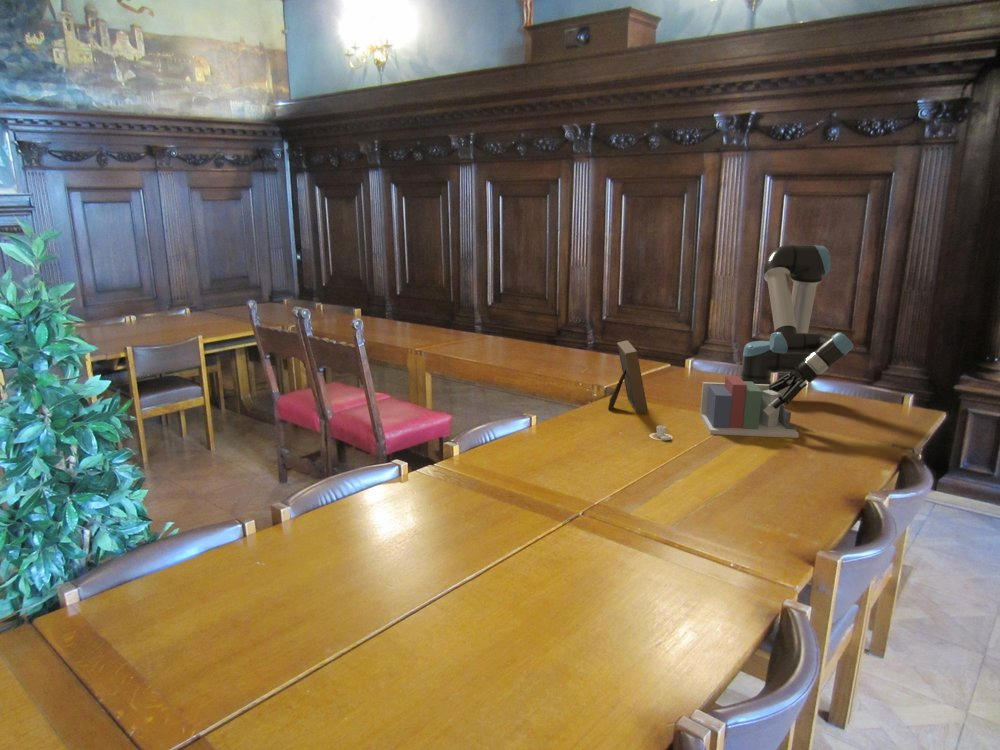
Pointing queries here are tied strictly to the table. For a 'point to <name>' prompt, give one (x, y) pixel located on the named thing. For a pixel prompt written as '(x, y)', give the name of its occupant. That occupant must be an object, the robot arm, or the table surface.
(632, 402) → the photo frame
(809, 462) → the table surface
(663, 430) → the coiled charger cable
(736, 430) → the book shelf
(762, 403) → the skincare box
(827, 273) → the robot arm
